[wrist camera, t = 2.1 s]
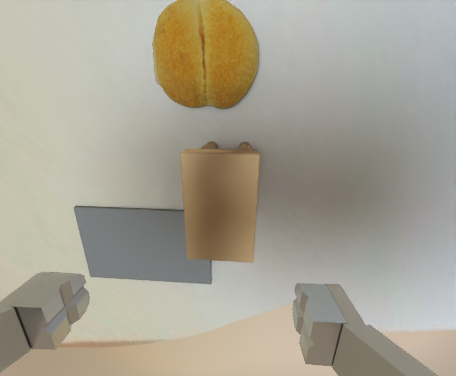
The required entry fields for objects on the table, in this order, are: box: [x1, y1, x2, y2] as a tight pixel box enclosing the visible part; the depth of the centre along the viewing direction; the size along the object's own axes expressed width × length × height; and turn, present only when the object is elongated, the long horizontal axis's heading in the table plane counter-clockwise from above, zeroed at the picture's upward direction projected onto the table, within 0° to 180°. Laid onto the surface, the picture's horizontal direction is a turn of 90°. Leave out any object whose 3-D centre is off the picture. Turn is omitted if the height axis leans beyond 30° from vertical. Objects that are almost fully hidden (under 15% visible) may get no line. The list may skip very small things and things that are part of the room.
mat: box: [74, 206, 211, 284], centre depth 26 cm, size 16×10×1 cm, turn 89°
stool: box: [180, 142, 260, 262], centre depth 18 cm, size 5×8×8 cm, turn 179°
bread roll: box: [152, 0, 259, 108], centre depth 17 cm, size 8×9×4 cm
